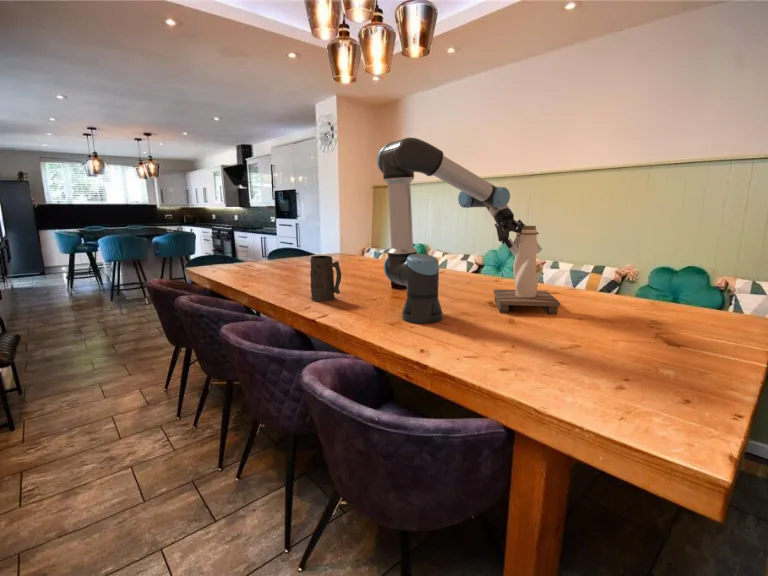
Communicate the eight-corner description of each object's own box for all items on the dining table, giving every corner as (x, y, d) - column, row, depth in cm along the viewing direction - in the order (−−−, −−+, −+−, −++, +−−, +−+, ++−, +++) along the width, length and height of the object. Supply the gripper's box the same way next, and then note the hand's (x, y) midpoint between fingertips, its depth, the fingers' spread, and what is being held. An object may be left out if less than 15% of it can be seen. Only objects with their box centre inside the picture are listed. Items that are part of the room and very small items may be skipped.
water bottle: (509, 296, 156) (512, 226, 150) (511, 292, 164) (515, 225, 158) (536, 298, 152) (540, 226, 146) (537, 293, 160) (542, 225, 154)
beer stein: (305, 300, 175) (305, 256, 170) (316, 295, 185) (316, 253, 180) (336, 305, 170) (338, 260, 166) (346, 299, 180) (347, 257, 176)
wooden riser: (559, 315, 147) (560, 302, 146) (499, 313, 150) (499, 301, 149) (545, 301, 168) (546, 290, 167) (493, 300, 172) (493, 289, 170)
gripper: (516, 219, 173) (542, 256, 164) (475, 220, 161) (500, 260, 151) (527, 206, 167) (554, 244, 158) (485, 207, 155) (512, 248, 145)
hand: (528, 252), depth 154 cm, fingers open, 13 cm apart
